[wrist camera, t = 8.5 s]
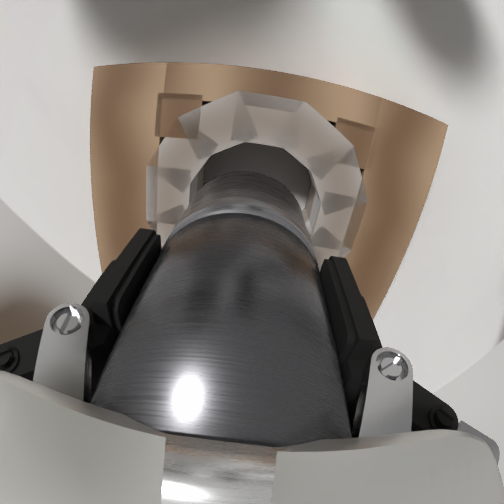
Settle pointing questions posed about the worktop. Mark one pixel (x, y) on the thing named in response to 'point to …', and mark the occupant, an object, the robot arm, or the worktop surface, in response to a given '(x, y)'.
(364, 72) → the worktop surface
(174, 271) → the shiny metal canister
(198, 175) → the mount board
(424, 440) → the robot arm
